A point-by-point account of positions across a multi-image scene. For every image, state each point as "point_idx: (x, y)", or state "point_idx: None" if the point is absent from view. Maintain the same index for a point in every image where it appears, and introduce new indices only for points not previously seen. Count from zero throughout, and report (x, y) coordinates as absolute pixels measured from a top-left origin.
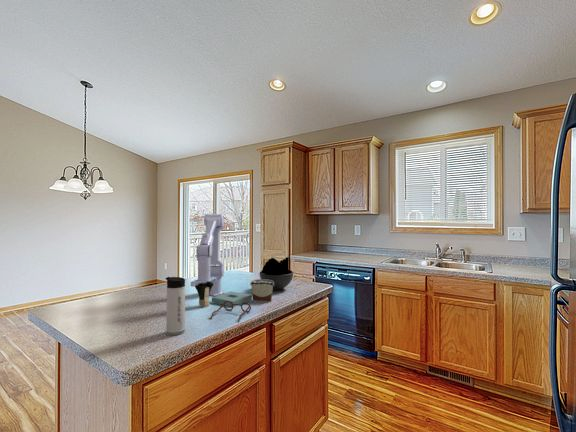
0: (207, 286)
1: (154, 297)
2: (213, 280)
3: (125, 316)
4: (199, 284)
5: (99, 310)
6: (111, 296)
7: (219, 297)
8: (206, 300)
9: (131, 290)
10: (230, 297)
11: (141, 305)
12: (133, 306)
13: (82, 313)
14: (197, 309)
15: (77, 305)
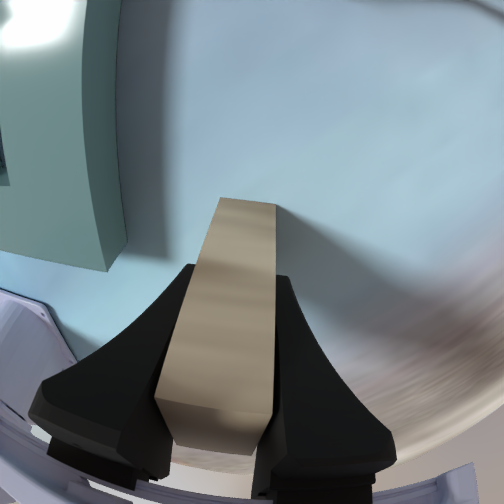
0: (155, 417)
1: None
2: (5, 429)
3: (461, 394)
4: (367, 501)
5: (399, 443)
6: None
7: (58, 206)
8: (251, 240)
9: (220, 469)
10: (4, 107)
11: None
12: None
13: (420, 442)
14: (357, 230)
15: None
